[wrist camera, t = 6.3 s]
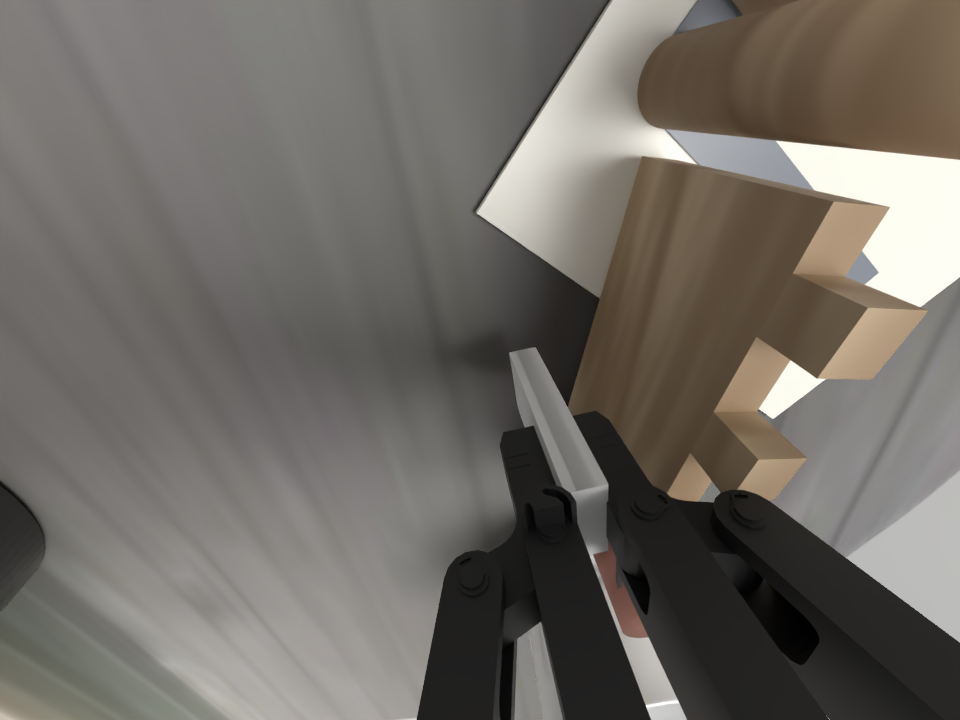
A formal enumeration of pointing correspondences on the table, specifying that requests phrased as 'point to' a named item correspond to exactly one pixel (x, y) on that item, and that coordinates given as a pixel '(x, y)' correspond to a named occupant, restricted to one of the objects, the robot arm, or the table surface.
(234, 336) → the table surface
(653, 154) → the card
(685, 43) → the wooden castle wall
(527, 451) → the robot arm
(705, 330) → the swing panel
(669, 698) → the white cup
